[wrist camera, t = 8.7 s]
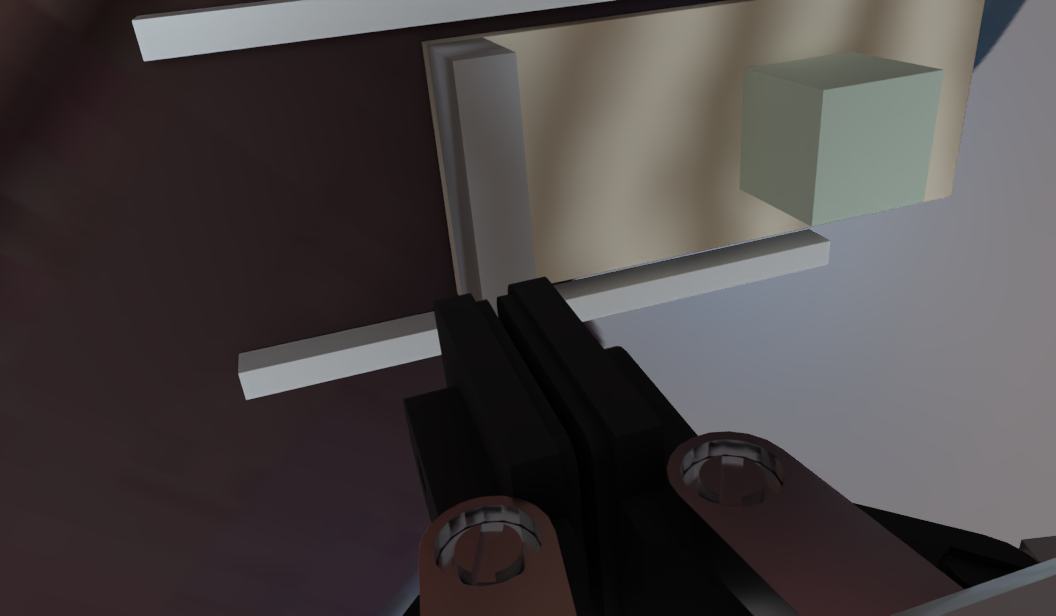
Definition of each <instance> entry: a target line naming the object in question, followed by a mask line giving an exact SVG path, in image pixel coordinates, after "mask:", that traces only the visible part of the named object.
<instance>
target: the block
mask: <svg viewBox="0 0 1056 616" xmlns="http://www.w3.org/2000/svg"><path fill="white" fill-rule="evenodd" d="M943 73H944V70H943V69H938V68H933V67H928V66H922V65H917V64H912V63H907V62H902V61H897V60H892V59H887V58H882V57H877V56H871V55H866V54H861V53H856V52H845V53H839V54H833V55H826V56H820V57H814V58H808V59H801V60H795V61H789V62H782V63H776V64H770V65H763V66H757V67H751V68H745V69H744V86H743V111H742V135H741V160H740V185H739V189H741V190H743V191H744V192H746V193H748V194H750V195H752V196H754V197H756V198H758V199H760V200H762V201H764V202H765V203H767V204H769V205H771V206H773V207H775V208H777V209H779V210H781V211H783V212H785V213H786V214H788V215H790V216H792V217H794V218H796V219H798V220H800V221H802V222H804V223H806V224H807V225H809V226H811V227H813V226H817V225H822V224H827V223H831V222H836V221H840V220H845V219H850V218H854V217H858V216H863V215H868V214H873V213H877V212H882V211H886V210H891V209H895V208H900V207H905V206H909V205H913V204H918V203H923V202H924V196H925V189H926V183H927V176H928V170H929V163H930V157H931V150H932V144H933V137H934V131H935V124H936V118H937V112H938V105H939V99H940V92H941V86H942V79H943Z"/></svg>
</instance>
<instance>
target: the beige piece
mask: <svg viewBox="0 0 1056 616" xmlns="http://www.w3.org/2000/svg"><path fill="white" fill-rule="evenodd" d="M984 2H985V0H726V1H719V2H712V3H704V4H697V5H689V6H682V7H674V8H667V9H660V10H652V11H645V12H637V13H630V14H622V15H615V16H608V17H600V18H593V19H585V20H578V21H571V22H563V23H556V24H548V25H541V26H533V27H526V28H519V29H511V30H504V31H496V32H489V33H481V34H474V35H467V36H459V37H452V38H444V39H437V40H430V41H422V48H423V55H424V62H425V69H426V77H427V84H428V91H429V98H430V105H431V112H432V119H433V126H434V133H435V140H436V147H437V154H438V161H439V168H440V175H441V182H442V189H443V196H444V203H445V210H446V217H447V224H448V231H449V238H450V245H451V252H452V259H453V266H454V273H455V280H456V287H457V293H458V295H463V294H468V293H471V294H472V295H473V297H474V299H475V301H481V300H485V299H487V300H488V301H489V303H490V304H491V306H492V308H493V310H494V311H495V313H496V315H497V316H498V312H497V297H499V296H503V295H508V285H509V284H513V283H517V282H522V281H526V280H531V279H535V278H540V277H544V276H545V277H546V278H548V279H549V281H550V282H551V283H556V282H560V281H565V280H569V279H574V278H579V277H583V276H588V275H592V274H597V273H601V272H606V271H610V270H615V269H620V268H625V267H629V266H634V265H638V264H643V263H648V262H651V261H656V260H661V259H666V258H670V257H675V256H680V255H684V254H689V253H693V252H698V251H702V250H707V249H712V248H716V247H721V246H725V245H730V244H734V243H739V242H744V241H748V240H753V239H758V238H762V237H766V236H771V235H776V234H781V233H785V232H789V231H794V230H799V229H804V228H808V227H811V226H809V225H807V224H806V223H804V222H802V221H800V220H798V219H796V218H794V217H792V216H790V215H788V214H786V213H785V212H783V211H781V210H779V209H777V208H775V207H773V206H771V205H769V204H767V203H765V202H764V201H762V200H760V199H758V198H756V197H754V196H752V195H750V194H748V193H746V192H744V191H743V190H741V189H739V185H740V160H741V135H742V111H743V86H744V69H745V68H751V67H757V66H763V65H770V64H776V63H782V62H789V61H795V60H801V59H808V58H814V57H820V56H826V55H833V54H839V53H845V52H856V53H861V54H866V55H871V56H877V57H882V58H887V59H892V60H897V61H902V62H907V63H912V64H917V65H922V66H928V67H933V68H938V69H943V70H944V73H943V79H942V86H941V92H940V99H939V105H938V112H937V118H936V124H935V131H934V137H933V144H932V150H931V157H930V163H929V170H928V176H927V183H926V189H925V196H924V202H927V201H932V200H937V199H941V198H946V197H951V194H952V189H953V183H954V177H955V171H956V165H957V160H958V154H959V147H960V142H961V136H962V130H963V124H964V119H965V113H966V107H967V101H968V95H969V89H970V84H971V78H972V72H973V66H974V60H975V54H976V49H977V43H978V37H979V31H980V25H981V19H982V14H983V8H984Z"/></svg>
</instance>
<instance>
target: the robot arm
mask: <svg viewBox="0 0 1056 616" xmlns="http://www.w3.org/2000/svg"><path fill="white" fill-rule="evenodd" d="M433 305H434V314H435V320H436V326H437V331H438V337H439V343H440V349H441V354H442V360H443V366H444V372H445V377H446V383H447V388H445V389H441V390H437V391H433V392H429V393H425V394H421V395H417V396H413V397H409V398H405V399H403V402H404V408H405V413H406V418H407V423H408V428H409V433H410V438H411V442H412V447H413V452H414V456H415V461H416V465H417V469H418V473H419V478H420V482H421V486H422V490H423V494H424V497H425V501H426V505H427V508H428V512H429V516H430V519H431V524H430V526H429V527H428V529H427V531H426V532H425V534H424V536H423V537H422V539H421V543H420V549H419V555H418V561H419V595H418V596H417V598H416V599H415V600H414V602H413V603H412V604H411V605H410V607H409V608H408V609H407V611H406V612H405V613H404V614H403V616H1056V536H1051V537H1041V538H1032V539H1024V540H1021V544H1020V548H1019V549H1018V548H1016V547H1014V546H1012V545H1010V544H1008V543H1006V542H1003V541H1000V540H997V539H994V538H992V537H988V536H986V535H982V534H978V533H974V532H970V531H965V530H962V529H958V528H953V527H949V526H945V525H941V524H936V523H933V522H929V521H924V520H920V519H917V518H912V517H908V516H904V515H900V514H896V513H892V512H888V511H884V510H880V509H875V508H872V507H867V506H863V505H859V504H855V503H852V502H850V501H849V500H848V499H847V498H845V497H844V496H843V495H841V494H840V493H839V492H838V491H836V490H835V489H834V488H832V487H831V486H830V485H829V484H827V483H826V482H825V481H823V480H822V479H821V478H819V477H818V476H817V475H815V474H814V473H813V472H812V471H810V470H809V469H808V468H806V467H805V466H804V465H803V464H801V463H800V462H799V461H797V460H796V459H795V458H793V457H792V456H791V455H790V454H788V453H787V452H785V451H784V450H783V449H782V448H780V447H778V446H776V445H774V444H773V443H771V442H770V441H768V440H766V439H763V438H760V437H756V436H753V435H750V434H745V433H736V432H712V433H707V434H703V435H700V436H698V435H697V434H696V433H695V432H694V431H693V430H692V429H691V427H690V426H689V425H688V424H687V423H686V421H685V420H684V419H683V418H682V417H681V415H680V414H679V413H678V412H677V411H676V409H675V408H674V407H673V406H672V405H671V403H669V401H668V400H667V399H666V398H665V396H664V395H663V394H662V393H661V392H660V390H659V389H658V388H657V387H656V386H655V384H654V383H653V382H652V381H651V380H650V379H649V377H648V376H647V375H646V374H645V373H644V371H643V370H642V369H641V368H640V367H639V366H638V364H637V363H636V362H635V361H634V360H633V358H632V357H631V356H630V355H629V354H628V353H627V351H625V350H624V349H623V348H622V347H620V346H615V347H611V348H607V349H603V347H602V346H601V345H600V344H599V342H598V341H597V340H596V339H595V337H594V336H593V335H592V334H591V332H590V331H589V330H588V329H587V327H586V326H585V325H584V323H583V322H582V321H581V320H580V318H579V317H578V316H577V315H576V313H575V312H574V311H573V310H572V308H571V307H570V306H569V305H568V303H567V302H566V301H565V300H564V298H563V297H562V296H561V295H560V293H559V292H558V291H557V290H556V288H555V287H554V286H553V285H552V283H551V282H550V281H549V279H548V278H546V277H545V276H544V277H540V278H535V279H531V280H526V281H522V282H517V283H513V284H509V285H508V295H503V296H499V297H497V312H498V316H497V315H496V313H495V311H494V310H493V308H492V306H491V304H490V303H489V301H488V300H487V299H485V300H481V301H475V299H474V297H473V295H472V294H471V293H468V294H463V295H459V296H454V297H450V298H445V299H441V300H436V301H434V303H433Z"/></svg>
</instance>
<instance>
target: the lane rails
mask: <svg viewBox="0 0 1056 616" xmlns="http://www.w3.org/2000/svg"><path fill="white" fill-rule="evenodd" d="M606 1H614V0H270V1H261V2H252V3H244V4H235V5H227V6H218V7H210V8H201V9H192V10H184V11H175V12H167V13H158V14H150V15H141V16H137V17H136V18H135V19H133V20H132V23H133V27H134V30H135V33H136V37H137V40H138V43H139V47H140V50H141V53H142V57H143V60H144V61H152V60H159V59H167V58H175V57H182V56H190V55H198V54H205V53H213V52H221V51H229V50H236V49H244V48H252V47H259V46H267V45H275V44H282V43H290V42H298V41H306V40H313V39H321V38H329V37H336V36H344V35H352V34H359V33H367V32H375V31H383V30H390V29H398V28H406V27H413V26H421V25H429V24H437V23H444V22H452V21H460V20H467V19H475V18H483V17H490V16H498V15H506V14H514V13H521V12H529V11H537V10H544V9H552V8H560V7H567V6H575V5H583V4H591V3H598V2H606ZM829 251H830V240H828V239H826V238H824V237H822V236H821V235H819V234H817V233H815V232H813V231H811V230H809V229H808V230H804V231H799V232H795V233H790V234H785V235H781V236H776V237H772V238H767V239H762V240H758V241H753V242H748V243H744V244H739V245H735V246H730V247H726V248H721V249H717V250H712V251H708V252H703V253H698V254H694V255H689V256H684V257H680V258H675V259H671V260H666V261H661V262H657V263H653V264H648V265H643V266H639V267H634V268H629V269H625V270H621V271H616V272H611V273H607V274H602V275H598V276H593V277H588V278H584V279H579V280H574V281H570V282H565V283H561V284H556V285H553V286H554V287H555V288H556V290H557V291H558V292H559V293H560V295H561V296H562V297H563V298H564V300H565V301H566V302H567V303H568V305H569V306H570V307H571V308H572V310H573V311H574V312H575V313H576V315H577V316H578V317H579V318H580V320H581V321H582V322H584V321H588V320H593V319H597V318H601V317H605V316H610V315H614V314H618V313H623V312H627V311H631V310H636V309H639V308H644V307H649V306H653V305H657V304H662V303H666V302H670V301H675V300H679V299H683V298H687V297H692V296H696V295H700V294H704V293H709V292H713V291H717V290H722V289H726V288H730V287H735V286H739V285H743V284H748V283H752V282H756V281H761V280H765V279H769V278H774V277H778V276H781V275H786V274H791V273H795V272H799V271H803V270H808V269H812V268H816V267H821V266H825V265H828V261H829ZM438 355H442V354H441V349H440V343H439V337H438V331H437V326H436V320H435V314H434V311H433V312H428V313H423V314H419V315H414V316H410V317H405V318H400V319H396V320H391V321H387V322H382V323H378V324H373V325H368V326H364V327H359V328H355V329H350V330H346V331H341V332H336V333H332V334H327V335H323V336H318V337H313V338H309V339H304V340H300V341H295V342H291V343H286V344H281V345H277V346H272V347H268V348H263V349H259V350H254V351H249V352H245V353H240V354H239V365H238V374H239V378H240V381H241V384H242V388H243V391H244V394H245V398H246V400H248V399H253V398H257V397H261V396H266V395H270V394H274V393H279V392H283V391H287V390H291V389H296V388H300V387H304V386H309V385H313V384H317V383H322V382H326V381H330V380H334V379H339V378H343V377H347V376H352V375H356V374H360V373H365V372H369V371H373V370H378V369H382V368H386V367H390V366H395V365H399V364H403V363H408V362H412V361H416V360H421V359H425V358H429V357H433V356H438Z"/></svg>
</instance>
